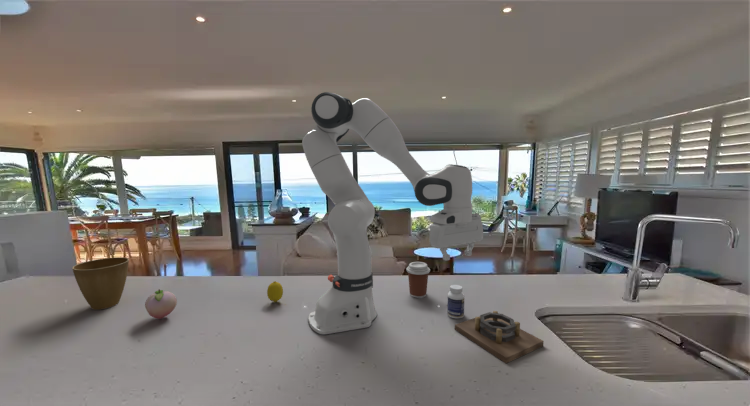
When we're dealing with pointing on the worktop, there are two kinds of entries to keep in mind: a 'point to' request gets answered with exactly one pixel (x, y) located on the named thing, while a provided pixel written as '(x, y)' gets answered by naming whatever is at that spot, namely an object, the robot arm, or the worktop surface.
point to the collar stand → (499, 336)
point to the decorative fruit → (160, 304)
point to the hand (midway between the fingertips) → (457, 257)
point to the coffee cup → (418, 279)
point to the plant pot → (102, 281)
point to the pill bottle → (455, 302)
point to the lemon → (275, 291)
